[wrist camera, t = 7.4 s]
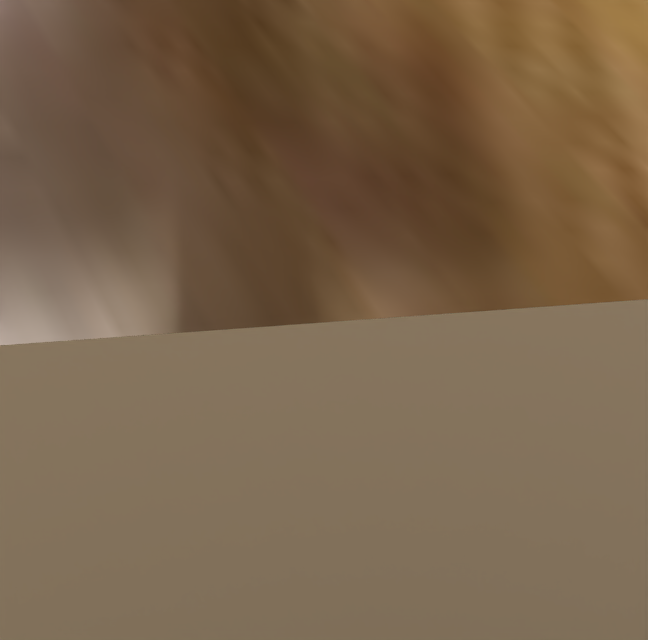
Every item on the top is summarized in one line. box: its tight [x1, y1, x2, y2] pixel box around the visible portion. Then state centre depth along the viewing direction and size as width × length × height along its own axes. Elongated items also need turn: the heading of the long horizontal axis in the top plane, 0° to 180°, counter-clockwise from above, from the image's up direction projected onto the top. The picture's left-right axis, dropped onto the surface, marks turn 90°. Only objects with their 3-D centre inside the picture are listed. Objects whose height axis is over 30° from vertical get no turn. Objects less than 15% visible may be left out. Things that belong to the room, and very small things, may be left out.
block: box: [0, 299, 648, 640], centre depth 8 cm, size 4×4×12 cm
